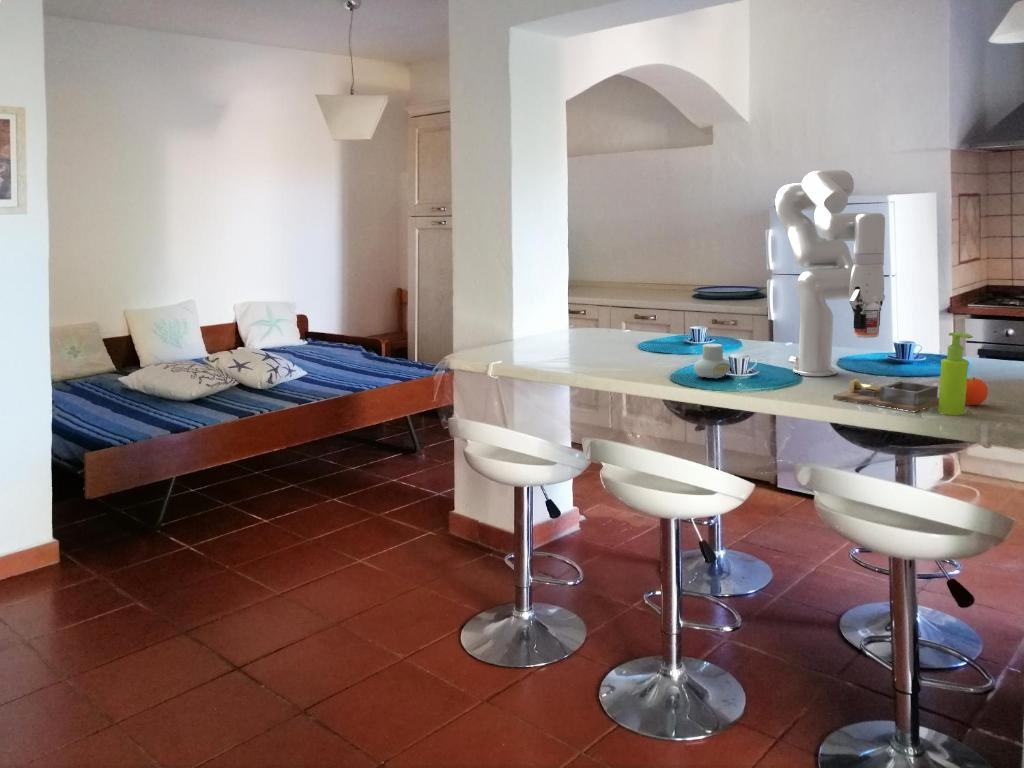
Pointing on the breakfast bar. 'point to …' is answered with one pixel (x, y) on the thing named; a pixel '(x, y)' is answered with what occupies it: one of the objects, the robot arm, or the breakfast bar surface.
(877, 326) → the pill bottle
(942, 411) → the soap dispenser
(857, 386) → the lock pin
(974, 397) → the clementine
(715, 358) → the air freshener
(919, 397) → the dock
